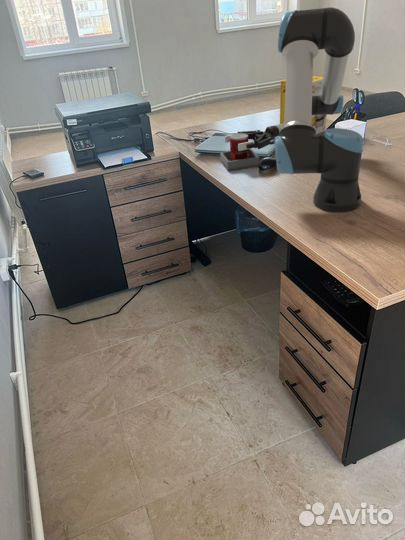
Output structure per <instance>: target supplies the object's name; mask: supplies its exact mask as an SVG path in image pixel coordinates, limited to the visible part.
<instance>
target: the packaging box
mask: <svg viewBox="0 0 405 540" xmlns="http://www.w3.org/2000/svg"><path fill="white" fill-rule="evenodd" d="M322 81H323V76H316V75H313V82H312V96H320V95H321V88H322ZM285 87H286V79H283V80H281V81H280V100H279V101H280V103H279V104H280V107H279V124H284V115H285ZM326 124H327V115H312V118H311V125H312V126H313V127H314V128H315V129H316V135H320V134H321V133H324V132H325V130H326Z"/></svg>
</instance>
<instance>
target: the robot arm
mask: <svg viewBox="0 0 405 540" xmlns="http://www.w3.org/2000/svg"><path fill="white" fill-rule="evenodd" d="M280 19H281V20H280V25H279V28H278V29H279V30H278V39H277V51H278V53H281V55H282V59H284V61H285V62H286V63H285V65H286V66H285V80H286V87H285V115H284V124H280V123H279V124H275V125H270V126H267V127H266V128H265V130H262V131H261V130H260V129H258V130H257V129H256V130H246V131H237V133H236V134H238V133H243V134H247V135H248V140H250V141H248V142H245V143H240V144H238V151H242V150H247V149H251V150H252V149H257V150H260V149H262V148H266V147H267V146H269V145H272V146H273V145H274V151H275V162H276V169H277V171H278V173H280V174H283V175H284V174H287V175H288V174H289V175H294V174H295V175H299V174H301V175H303V174H320V180H319V182H318V184H317V187H316V188H315V192H314V194H313V201H312V202H313V204H314V205H315V206H316V207H317V208H319V209H321V210H324V211H328V212H336V213H337V212H339V213H340V212H349V211H352V210H355V209H357V208H359V207H360V206H361V202H362V194H361V188H360V184H359V176H360V175H359V174H360V168H361V161H362V155H363V154H362V153H363V152H364V149H363V146H364V138H363V136H362V134H361V133H359V132H357V131H354V130H351V129H347V128H340V127H332V128H327V129H325V131H324V132H323V134H321V135H320V134H316V129H315V128H314V127H313V126H312V125H311V118H312V115H328V116H329V115H338V114H342V112H343V109H344V108H343V107H344V95H343V94H341V92H342V88H343V87H342V86H343V81H344V78H345V72H346V68H347V63H348V59H349V55H350V54H351V53H352V51H353V50H354V46H355V42H356V34H355V29H354V24H353V23H352V21H351V20H350V19H351V18H349V16H348V14H346V13H345V12H344V11H342V10H341V9H339V8H336V7H329V6H328V7H323V8H313V9H312V8H311V9H304V10H303V9H302V10H298V9H294V10H290V11H287V12H284V13H283V15H282V16H281V18H280ZM320 50H324V52H325V59H324V68H323V75H322V77H323V81H322V88H321V95H320V96H312V82H313V76H314V75H313V74H314V73H313V72H314V59H315V58H316V57H317V55H318V53H319V51H320ZM231 135H232V134H229V135H225V136H224V143H228V144H229V143H230V136H231Z"/></svg>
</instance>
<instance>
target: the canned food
mask: <svg viewBox="0 0 405 540" xmlns="http://www.w3.org/2000/svg"><path fill="white" fill-rule="evenodd" d="M230 135H231V136H230V142H229V151H230V155H231V161H234V160H241V159H247V158H249V149H247V150H242V151H238V144H240V143H245V142H249V139H248V135H247V134H243V133H234V134H230Z"/></svg>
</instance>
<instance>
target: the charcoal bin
mask: <svg viewBox="0 0 405 540" xmlns="http://www.w3.org/2000/svg"><path fill="white" fill-rule="evenodd" d="M219 156H220V157H219V158H220V162H221V164H222V165H223V167H224V168H225V170H226V171H227V172H233V171H239V170H245V169H247V170H248V169H253V168H254V169H255V168H259V167H260V156H258V154H256V152H255V151H254V150H253V149H252V148H251V149H249V158H247V159H241V160H234V161H231V155H230V150H228V151H221V152H220V153H219Z"/></svg>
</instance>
